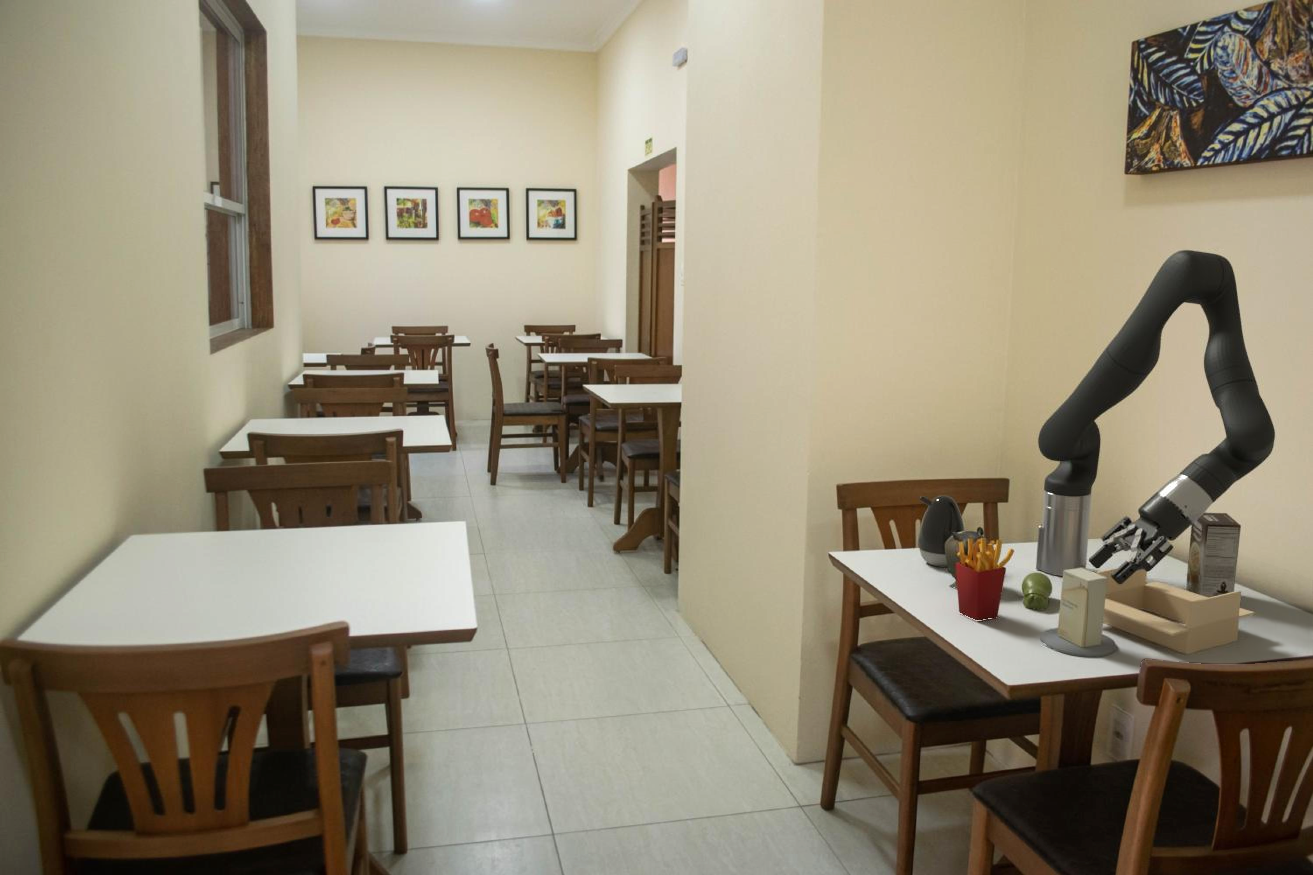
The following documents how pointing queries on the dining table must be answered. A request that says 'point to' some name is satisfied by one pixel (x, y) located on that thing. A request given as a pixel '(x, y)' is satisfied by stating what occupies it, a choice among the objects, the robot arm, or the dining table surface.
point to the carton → (1172, 613)
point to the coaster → (1069, 648)
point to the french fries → (980, 579)
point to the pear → (1036, 590)
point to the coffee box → (1213, 555)
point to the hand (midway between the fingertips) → (1103, 572)
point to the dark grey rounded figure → (938, 528)
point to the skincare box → (1082, 607)
